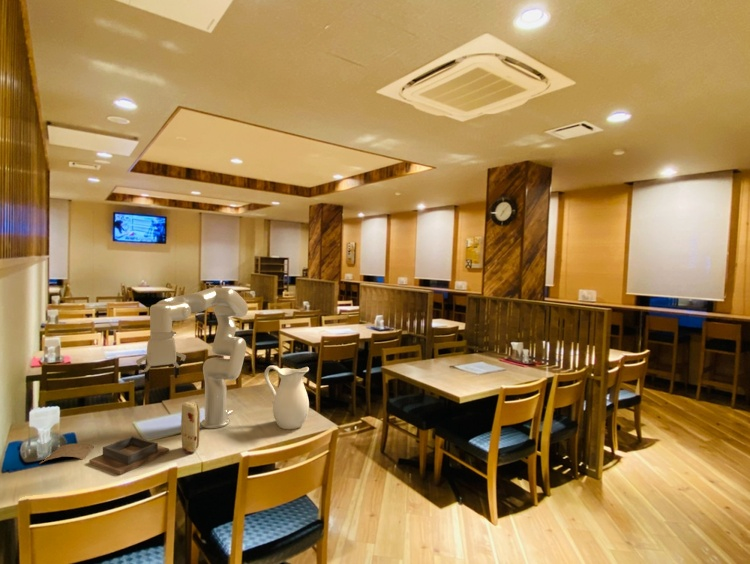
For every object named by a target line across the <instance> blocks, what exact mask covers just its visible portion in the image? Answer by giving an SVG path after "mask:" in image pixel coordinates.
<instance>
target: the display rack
mask: <svg viewBox="0 0 750 564" xmlns="http://www.w3.org/2000/svg"><path fill="white" fill-rule="evenodd" d="M169 453H170V448H168V447H165V446H162V445H159V444H158V442H154V441H151V440H148V439H145V438H141V437H138V436H136V435H130V436H128V437H126V438H123V439H120V440H118V441H115V442H114V443H113V442H112V443H110V444H108V445H106V446H103V447H102V454H100V455H97V456H95V457H93V458H90V459H89V460H88V462H89V465H92V466H94V467H97V468H100V469H102V470H105V471H108V472H110V473H113V474H116V475H119V476H121V475H122V476H123V475H124V474H126V473H128V472H130V471H132V470H135V469H136V468H139V467H141V466H143V465H145V464H148V463H149V462H152V461H154V460H155V459H158V458H160V457H162V456H164V455H166V454H169Z"/></svg>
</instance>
